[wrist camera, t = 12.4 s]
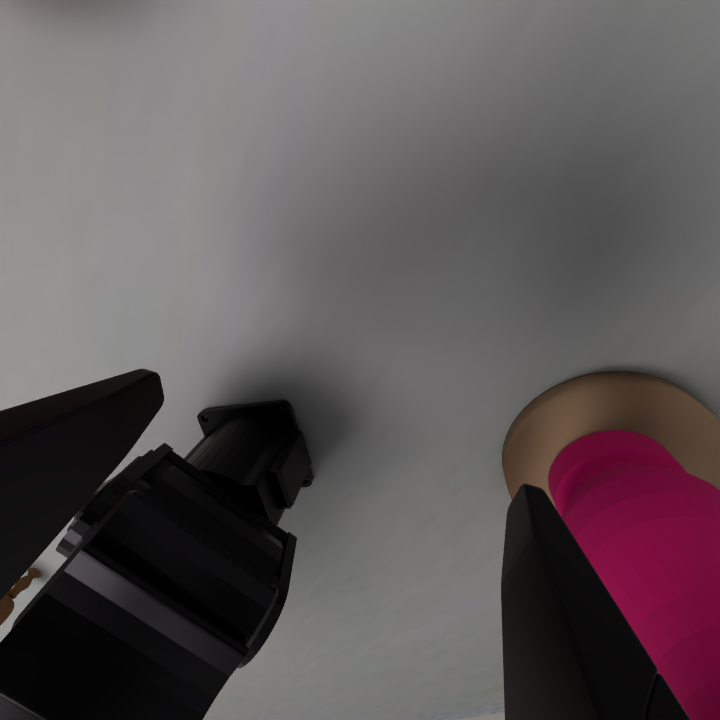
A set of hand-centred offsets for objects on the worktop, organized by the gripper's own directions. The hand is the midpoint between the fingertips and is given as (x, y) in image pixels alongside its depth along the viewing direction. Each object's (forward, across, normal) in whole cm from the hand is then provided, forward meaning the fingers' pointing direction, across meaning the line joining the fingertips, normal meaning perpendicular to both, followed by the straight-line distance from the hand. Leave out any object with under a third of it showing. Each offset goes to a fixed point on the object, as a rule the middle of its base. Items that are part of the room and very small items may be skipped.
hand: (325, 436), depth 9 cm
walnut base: (+13, -13, +9) cm, 20 cm away
